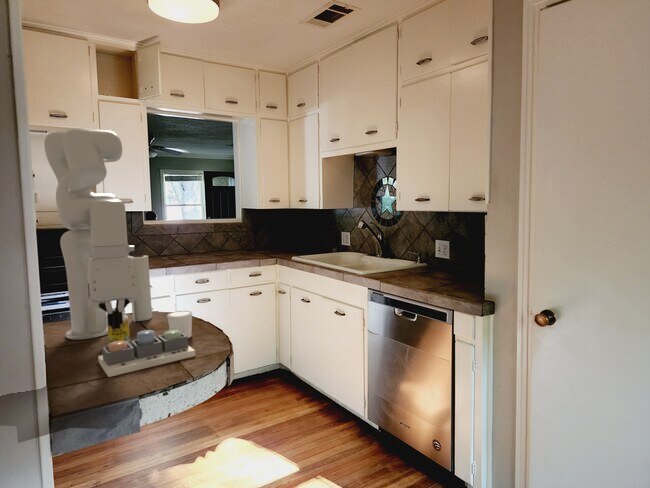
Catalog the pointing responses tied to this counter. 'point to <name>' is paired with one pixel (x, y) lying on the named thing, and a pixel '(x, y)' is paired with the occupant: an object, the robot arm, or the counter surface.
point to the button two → (145, 337)
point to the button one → (117, 346)
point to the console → (145, 355)
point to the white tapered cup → (181, 321)
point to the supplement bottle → (120, 330)
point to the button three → (172, 334)
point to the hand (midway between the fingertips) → (115, 327)
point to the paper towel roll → (142, 289)
